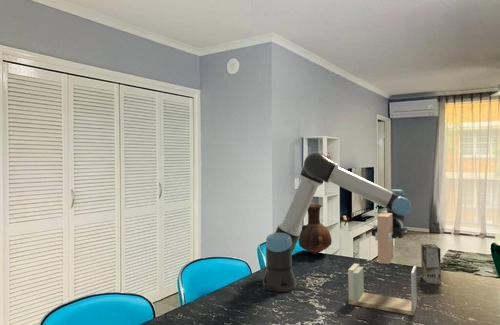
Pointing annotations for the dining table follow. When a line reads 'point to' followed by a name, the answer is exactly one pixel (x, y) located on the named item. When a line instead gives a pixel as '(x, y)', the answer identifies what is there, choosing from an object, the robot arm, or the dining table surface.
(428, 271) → the coffee box
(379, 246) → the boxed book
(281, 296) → the dining table surface
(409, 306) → the board
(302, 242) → the vase
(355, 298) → the books
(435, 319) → the dining table surface
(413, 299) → the grey flat panel
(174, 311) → the dining table surface
